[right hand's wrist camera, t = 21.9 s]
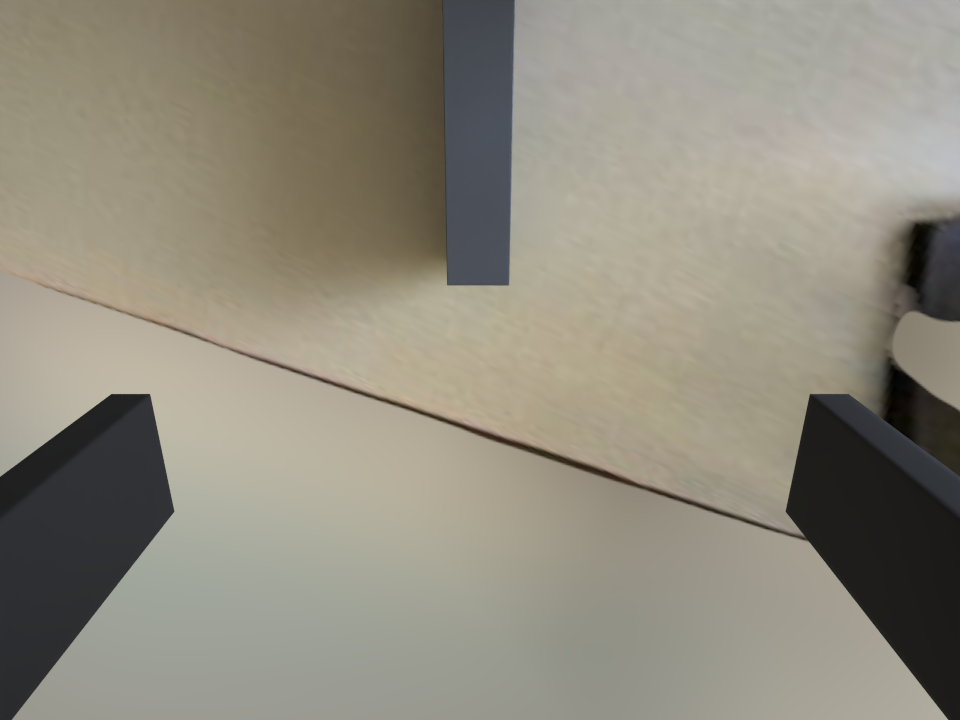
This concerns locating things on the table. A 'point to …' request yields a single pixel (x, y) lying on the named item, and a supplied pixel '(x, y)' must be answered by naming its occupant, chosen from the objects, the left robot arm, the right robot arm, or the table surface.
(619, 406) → the table surface
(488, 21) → the post
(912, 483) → the right robot arm
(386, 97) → the table surface
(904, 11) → the table surface
